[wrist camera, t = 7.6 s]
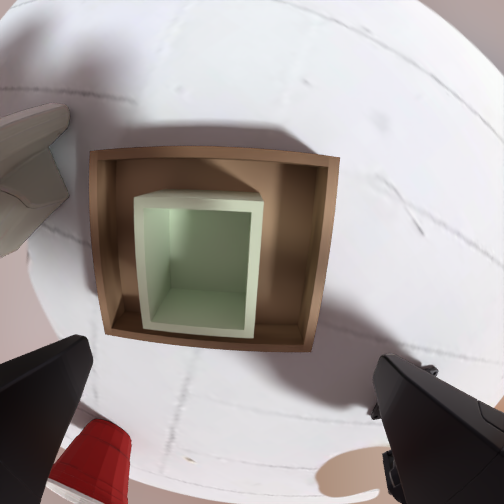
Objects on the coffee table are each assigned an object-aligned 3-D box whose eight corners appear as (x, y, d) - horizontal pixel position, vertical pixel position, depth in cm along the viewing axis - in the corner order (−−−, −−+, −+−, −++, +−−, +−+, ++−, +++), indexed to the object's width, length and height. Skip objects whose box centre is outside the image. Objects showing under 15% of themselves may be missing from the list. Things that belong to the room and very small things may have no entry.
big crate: (303, 327, 20) (311, 352, 17) (121, 313, 20) (105, 334, 17) (324, 159, 17) (339, 157, 14) (113, 152, 16) (89, 150, 13)
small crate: (252, 296, 19) (253, 338, 14) (166, 290, 19) (143, 328, 14) (259, 192, 17) (263, 201, 12) (164, 189, 17) (133, 197, 12)
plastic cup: (97, 449, 27) (73, 510, 15) (60, 399, 24) (19, 466, 12) (164, 460, 27) (148, 534, 15) (131, 410, 23) (96, 500, 12)
